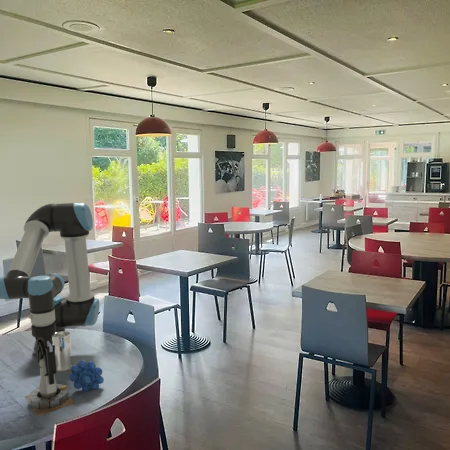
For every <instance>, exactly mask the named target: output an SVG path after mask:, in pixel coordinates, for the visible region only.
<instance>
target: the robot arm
mask: <svg viewBox="0 0 450 450" xmlns="http://www.w3.org/2000/svg"><path fill="white" fill-rule="evenodd" d="M93 222H94V221H93V215H92V212H91V209H90V207H89V206H88V204H87V203H84V202H66V203H65V202H64V203H48V204H47V203H46V204H45V205H42V206H40V207H39V208H38V209H36V210H35V211H34V212H32V214H30V216H29V217H28V218H27V219H26V221H25V223H24V226H23V232H24V233H23V235H22V237H21V240H20V243H19V245H18V247H17V250H16V252H15V254H14V256H13V260H12V262H11V264H10V267H9V269H8V271H7V274H6V276H5V277H4V276H3V277H0V300H14V299H15V300H16V299H17V300H19V299H28V302H29V313H30V315H29V316H28V319H30V324H31V326H30V327H31V336H32V337H33V338H34V339H35V341H34V345H33V353H34V355H35V356H36V360H37V364H38V367H39V374H40V376H41V371H42V367H40V364H39V362H40V360H41V359H43V358H44V361H45V367H46V374H44V376H46V386H47V394H49V393H53V392H56V385H55V379H56V374H57V373H58V371H57V370H56V359H55V345H52V344H53V341H52V335H53V334H55V333H57V332H61V331H66V328H68V327H69V328H70V327H71V328H73V327H74V328H75V327H76V328H77V327H89V326H91V327H92V326H94V325H95V324H96V323H97V321H98V318H99V314H100V313H99V312H100V300H99V298H97V297H96V298H95V293H94V292H92V290H91V284H90V283H91V282H90V273H89V272H90V271H89V262H88V261H89V260H88V248H87V246H88V245H87V238H88V236H89V235H90V231H92V230H93V227H94V224H93ZM51 232H53V233H54V232H58V233H59V235H60V238H61V239H63V241H64V247H65V258H66V266H67V267H66V269H67V279H68V280H67V281H68V289H69V292H68V293H69V294H67V296H66V299H64V297H63V296H62V295H60V294H61V292H62V291H63V289H64V288H65V284H66V283H65V280H64V278H63V276H62V275H60V274H58V273H55V272H53V273H48V274H47V275H36V276H31V274H32V271H33V269H34V266H35V263H36V261H37V258H38V255H39V252H40V251H41V247H42V245H43V242H44V239H46V238H47V237H48V236H49V233H51Z"/></svg>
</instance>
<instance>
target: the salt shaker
mask: <svg viewBox="0 0 450 450" xmlns="http://www.w3.org/2000/svg"><path fill="white" fill-rule="evenodd" d="M39 364H40V366H39V368H41V367H42V371H41V375H40V381H39V387H38V388H39V391H40V394H41V395H42V397H43V398H50V397H53V396H54V395H55V394H56V392H53V393H49V394H47V386H46V376H44V374H46V367H45V361H44V358H43V359H41V360H40V362H39ZM39 364H38V365H39ZM57 384H58V383H57V380H56V378H55V385H56V391H57V388H58V386H57Z"/></svg>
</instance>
